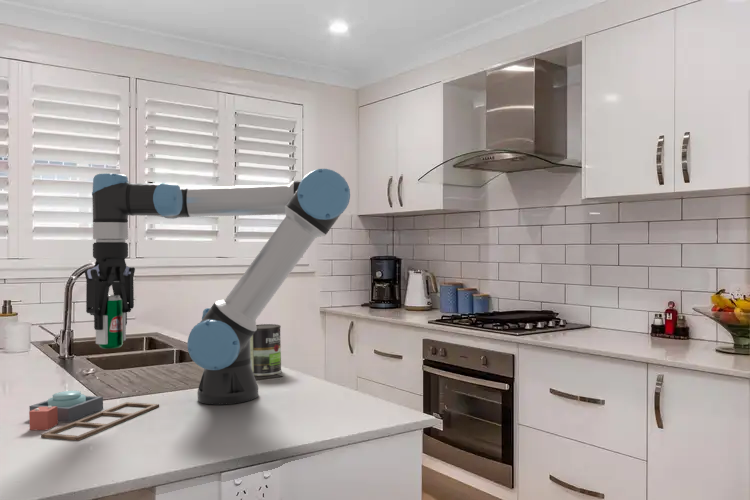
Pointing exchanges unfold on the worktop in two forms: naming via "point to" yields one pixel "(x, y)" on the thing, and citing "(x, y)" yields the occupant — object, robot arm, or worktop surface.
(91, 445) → the worktop surface
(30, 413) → the red cube
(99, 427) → the track
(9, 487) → the worktop surface
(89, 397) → the grey tray
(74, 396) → the dome button
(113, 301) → the soda can
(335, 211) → the robot arm
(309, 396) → the worktop surface
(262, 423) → the worktop surface
